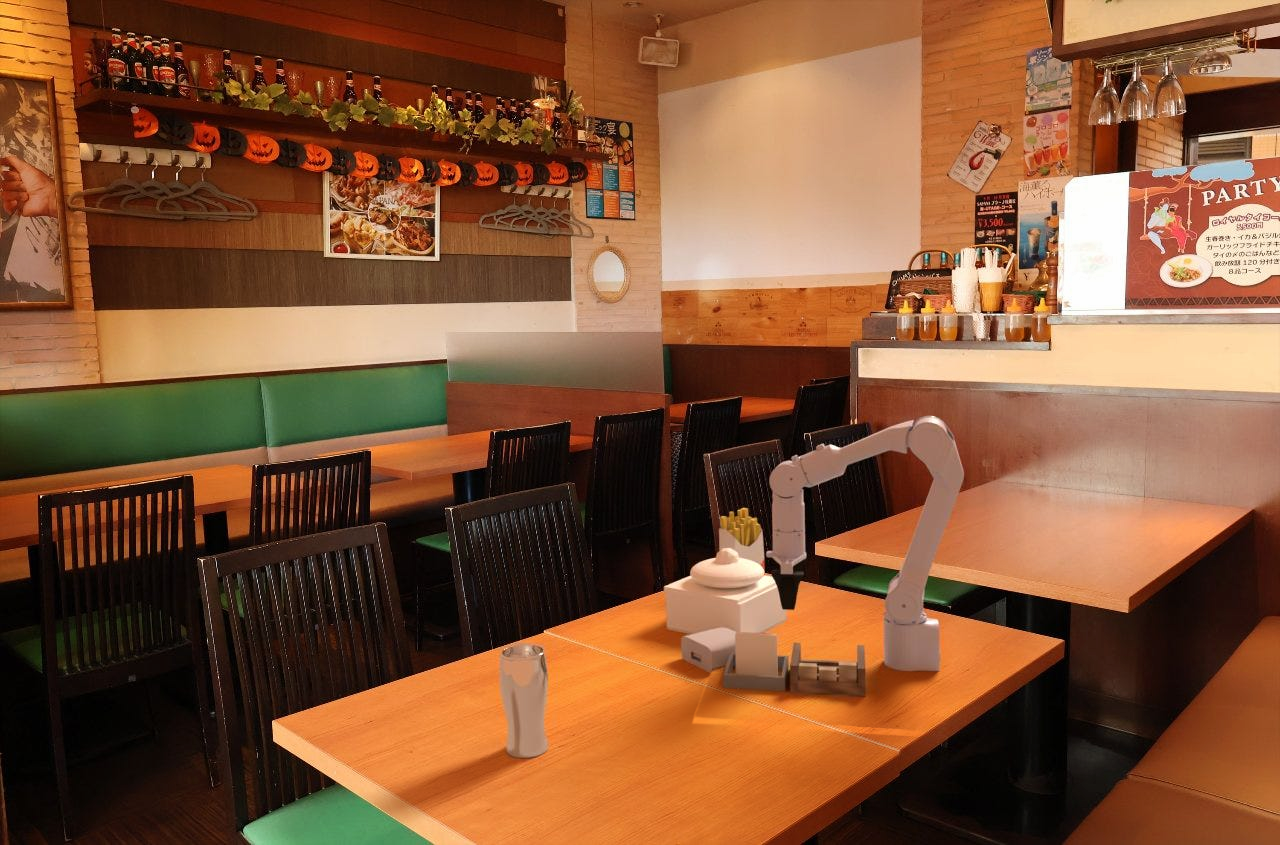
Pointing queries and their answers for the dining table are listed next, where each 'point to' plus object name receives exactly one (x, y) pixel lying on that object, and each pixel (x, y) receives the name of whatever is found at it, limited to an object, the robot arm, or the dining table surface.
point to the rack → (827, 686)
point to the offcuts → (829, 672)
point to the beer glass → (524, 698)
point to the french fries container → (742, 536)
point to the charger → (709, 648)
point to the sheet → (756, 653)
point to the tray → (755, 677)
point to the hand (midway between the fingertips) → (789, 602)
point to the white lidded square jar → (724, 597)
